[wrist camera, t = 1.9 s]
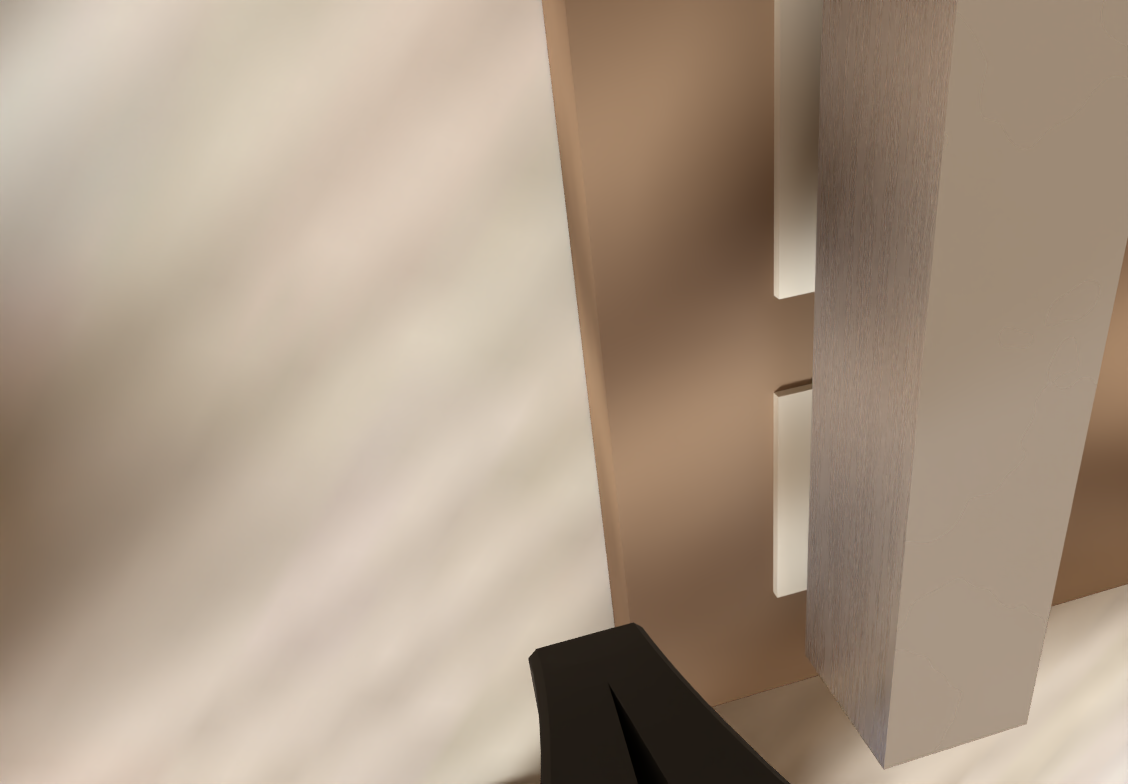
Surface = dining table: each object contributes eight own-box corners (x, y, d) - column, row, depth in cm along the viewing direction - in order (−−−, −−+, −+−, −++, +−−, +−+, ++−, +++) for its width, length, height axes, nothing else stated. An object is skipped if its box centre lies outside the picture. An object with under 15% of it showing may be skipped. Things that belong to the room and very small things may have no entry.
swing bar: (807, -459, 10) (991, -603, 7) (1077, -476, 11) (1341, -616, 8) (790, 654, 19) (871, 778, 16) (940, 611, 19) (1043, 723, 17)
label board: (1181, 519, 24) (1247, 565, 22) (620, 679, 21) (648, 745, 20) (1462, -466, 14) (1621, -521, 12) (496, -395, 12) (528, -451, 10)
